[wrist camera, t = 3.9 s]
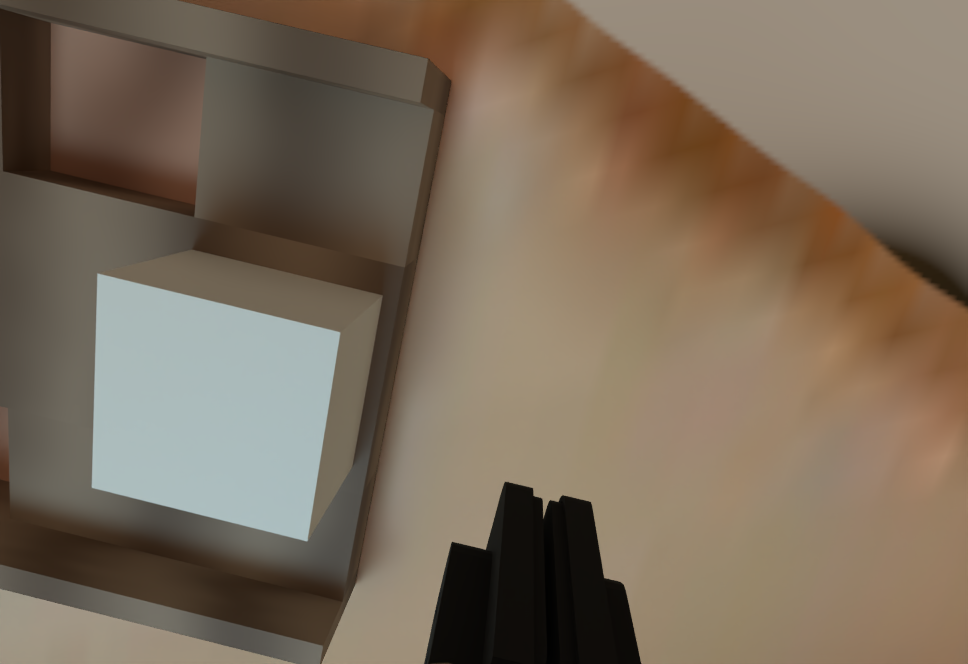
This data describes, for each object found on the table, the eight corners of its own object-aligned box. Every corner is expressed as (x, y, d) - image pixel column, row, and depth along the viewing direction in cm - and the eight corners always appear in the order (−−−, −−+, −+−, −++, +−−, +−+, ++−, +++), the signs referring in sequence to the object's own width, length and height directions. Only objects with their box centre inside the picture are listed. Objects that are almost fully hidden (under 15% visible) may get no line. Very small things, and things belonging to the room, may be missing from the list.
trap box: (451, 80, 18) (427, 58, 14) (354, 585, 23) (319, 669, 19) (-330, -102, 18) (-562, -172, 14) (-242, 436, 24) (-392, 489, 20)
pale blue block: (382, 295, 18) (340, 332, 14) (352, 466, 19) (307, 541, 16) (191, 249, 18) (97, 273, 14) (179, 423, 19) (91, 487, 16)
